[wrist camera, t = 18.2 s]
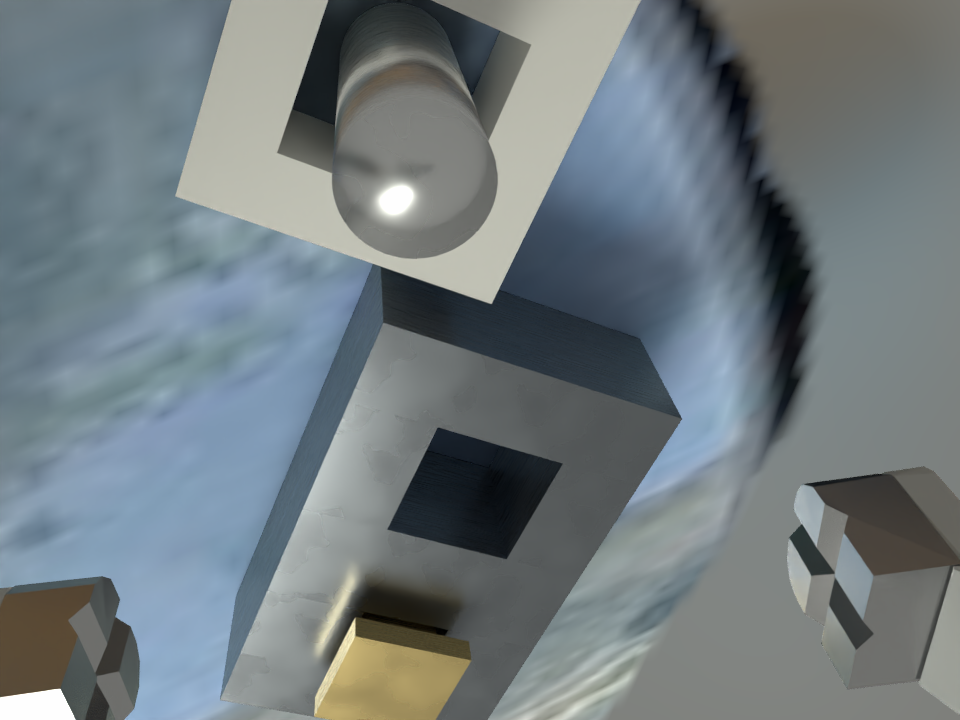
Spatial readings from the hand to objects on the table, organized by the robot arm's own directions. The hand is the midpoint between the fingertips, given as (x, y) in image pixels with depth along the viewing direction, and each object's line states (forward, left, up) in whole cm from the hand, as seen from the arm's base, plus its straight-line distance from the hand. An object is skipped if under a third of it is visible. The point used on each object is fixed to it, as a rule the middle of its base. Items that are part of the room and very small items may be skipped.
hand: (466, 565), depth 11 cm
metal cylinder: (0, 0, -25) cm, 25 cm away
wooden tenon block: (-22, -8, -24) cm, 34 cm away
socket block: (-17, -8, -25) cm, 31 cm away
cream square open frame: (0, 0, -25) cm, 25 cm away
